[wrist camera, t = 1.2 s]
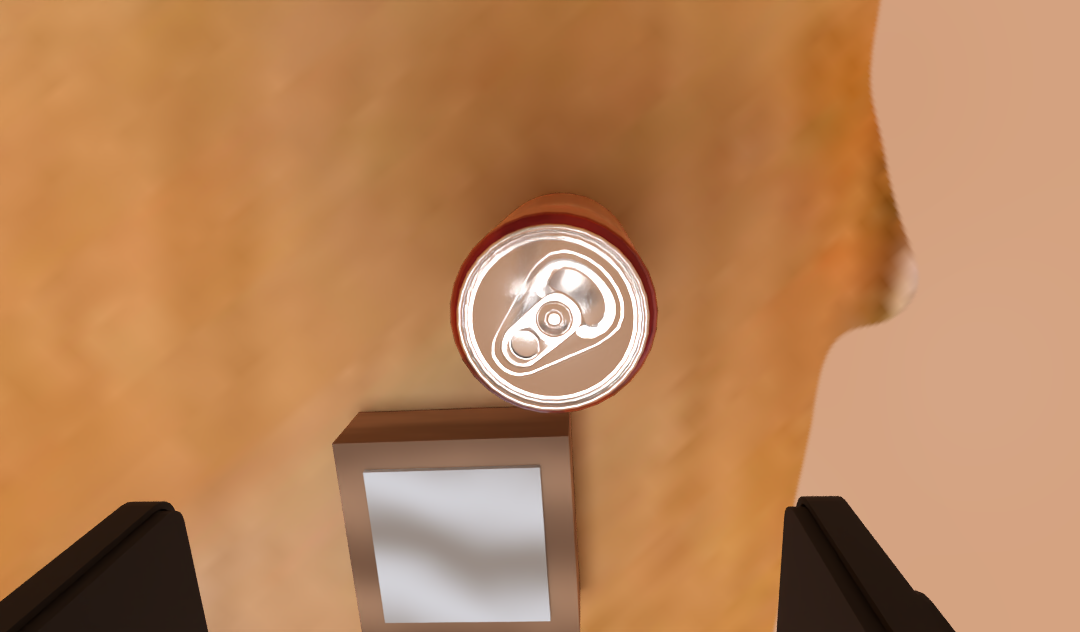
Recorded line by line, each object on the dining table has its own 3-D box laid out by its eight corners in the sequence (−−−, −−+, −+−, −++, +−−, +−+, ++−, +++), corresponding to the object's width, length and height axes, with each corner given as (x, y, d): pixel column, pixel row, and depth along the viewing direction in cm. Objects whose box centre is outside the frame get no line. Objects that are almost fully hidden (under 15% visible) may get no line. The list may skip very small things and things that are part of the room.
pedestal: (359, 412, 36) (329, 446, 32) (569, 404, 35) (568, 438, 31) (385, 593, 39) (361, 646, 34) (580, 590, 38) (580, 644, 34)
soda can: (574, 162, 32) (572, 166, 20) (659, 274, 33) (703, 341, 21) (464, 249, 33) (402, 301, 21) (549, 354, 34) (534, 458, 23)
